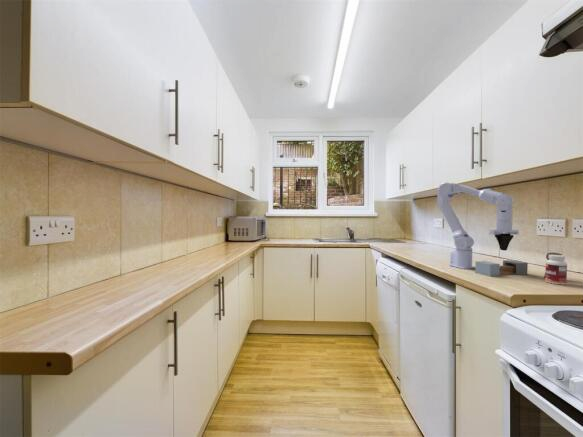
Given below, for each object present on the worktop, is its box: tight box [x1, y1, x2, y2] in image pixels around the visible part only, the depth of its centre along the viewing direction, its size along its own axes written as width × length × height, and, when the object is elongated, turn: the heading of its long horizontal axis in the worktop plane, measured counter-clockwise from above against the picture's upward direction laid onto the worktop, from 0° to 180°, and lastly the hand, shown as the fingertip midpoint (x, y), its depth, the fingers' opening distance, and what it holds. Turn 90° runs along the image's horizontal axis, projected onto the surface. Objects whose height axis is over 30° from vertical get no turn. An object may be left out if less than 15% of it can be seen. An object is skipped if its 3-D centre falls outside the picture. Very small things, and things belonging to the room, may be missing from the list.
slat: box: [499, 265, 517, 276], centre depth 128 cm, size 3×16×4 cm, turn 104°
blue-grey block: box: [474, 260, 501, 277], centre depth 126 cm, size 7×5×5 cm
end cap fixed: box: [502, 259, 529, 276], centre depth 130 cm, size 7×5×5 cm
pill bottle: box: [544, 254, 568, 286], centre depth 111 cm, size 6×6×11 cm
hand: (503, 250), depth 130 cm, fingers closed
